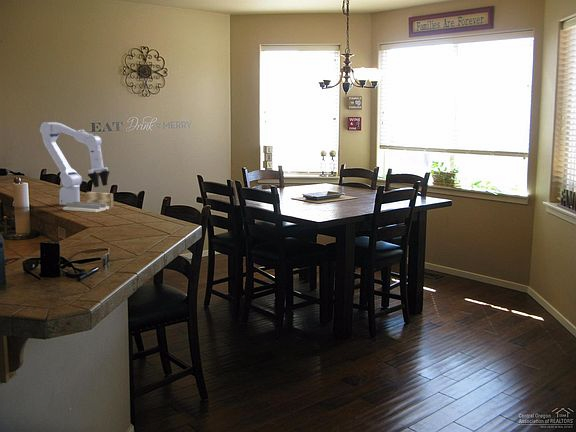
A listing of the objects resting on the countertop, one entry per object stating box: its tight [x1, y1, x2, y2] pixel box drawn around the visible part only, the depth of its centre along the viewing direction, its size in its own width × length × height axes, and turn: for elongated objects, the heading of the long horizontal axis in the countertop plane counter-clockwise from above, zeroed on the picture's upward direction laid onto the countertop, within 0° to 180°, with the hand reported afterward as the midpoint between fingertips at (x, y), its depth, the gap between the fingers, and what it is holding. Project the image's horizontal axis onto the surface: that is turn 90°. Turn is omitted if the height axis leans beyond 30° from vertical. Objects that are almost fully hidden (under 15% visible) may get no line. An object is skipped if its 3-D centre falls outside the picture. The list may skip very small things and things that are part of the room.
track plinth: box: [62, 201, 110, 213], centre depth 294 cm, size 18×12×3 cm, turn 75°
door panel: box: [85, 191, 114, 208], centre depth 305 cm, size 14×2×7 cm, turn 75°
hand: (100, 186), depth 304 cm, fingers open, 7 cm apart
